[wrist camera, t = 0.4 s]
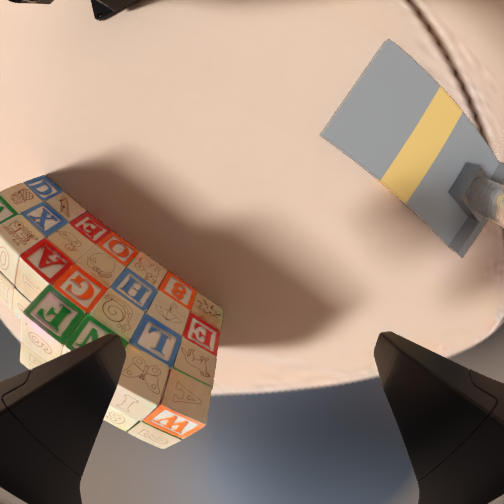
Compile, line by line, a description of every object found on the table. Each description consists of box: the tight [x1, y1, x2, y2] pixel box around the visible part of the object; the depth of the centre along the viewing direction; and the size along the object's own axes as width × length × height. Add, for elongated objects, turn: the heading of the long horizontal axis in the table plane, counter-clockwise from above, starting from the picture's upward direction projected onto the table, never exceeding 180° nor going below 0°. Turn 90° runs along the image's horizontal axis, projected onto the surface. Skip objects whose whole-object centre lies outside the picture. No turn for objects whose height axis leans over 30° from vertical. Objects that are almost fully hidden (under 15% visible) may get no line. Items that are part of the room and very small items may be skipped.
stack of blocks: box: [0, 175, 224, 449], centre depth 18 cm, size 21×6×12 cm, turn 51°
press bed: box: [320, 39, 504, 258], centre depth 17 cm, size 16×10×2 cm, turn 58°
